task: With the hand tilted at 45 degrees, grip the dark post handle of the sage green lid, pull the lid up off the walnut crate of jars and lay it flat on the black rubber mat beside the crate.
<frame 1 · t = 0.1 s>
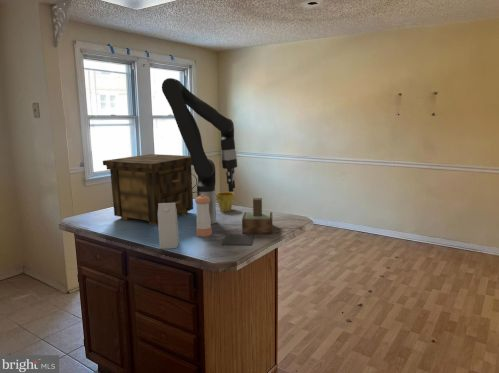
hand: (232, 189, 188), 17 cm above the table, tool pointing down, fingers open, 8 cm apart
milk carton: (169, 246, 159), on the table
lid: (257, 217, 178), point 6 cm above the table, touching crate
crate: (257, 229, 179), on the table
pepper shaker: (204, 234, 173), on the table
mat: (238, 240, 164), on the table
crate 2: (155, 216, 206), on the table
plant pot: (225, 210, 217), on the table
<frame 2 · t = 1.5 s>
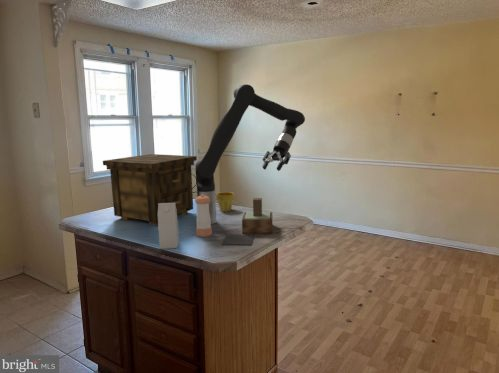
hand: (270, 169, 182), 28 cm above the table, tool tilted 45°, fingers open, 8 cm apart
nothing on the table moved.
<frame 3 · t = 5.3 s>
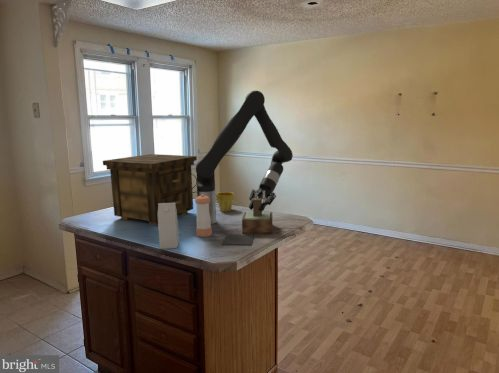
hand: (255, 209, 176), 10 cm above the table, tool tilted 45°, fingers closed on lid, 5 cm apart
lid: (257, 217, 178), point 6 cm above the table, touching crate, gripper
everything else where it was.
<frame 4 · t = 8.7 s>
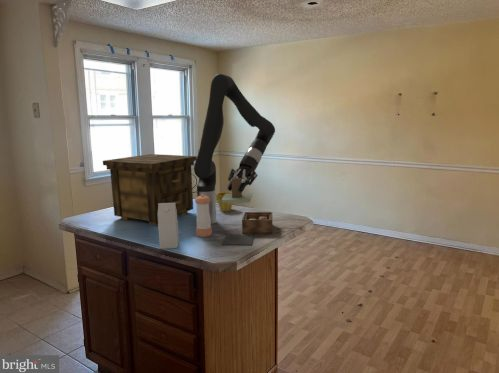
hand: (234, 190, 159), 23 cm above the table, tool tilted 45°, fingers closed on lid, 5 cm apart
lid: (237, 199, 161), point 19 cm above the table, touching gripper
everything else where it was.
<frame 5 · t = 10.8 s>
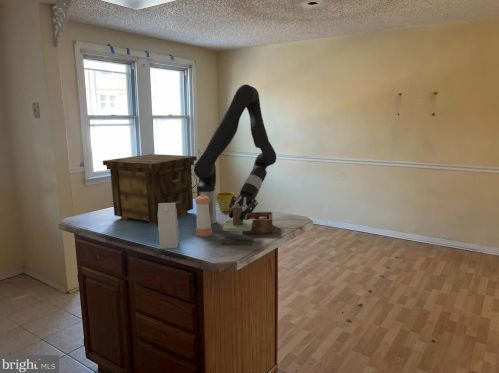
hand: (235, 218, 161), 11 cm above the table, tool tilted 45°, fingers closed on lid, 5 cm apart
lid: (238, 226, 163), point 6 cm above the table, touching gripper
everything else where it was.
when the fingers open (6 cm above the table, at t = 12.3 s): lid drops 2 cm, resting on mat.
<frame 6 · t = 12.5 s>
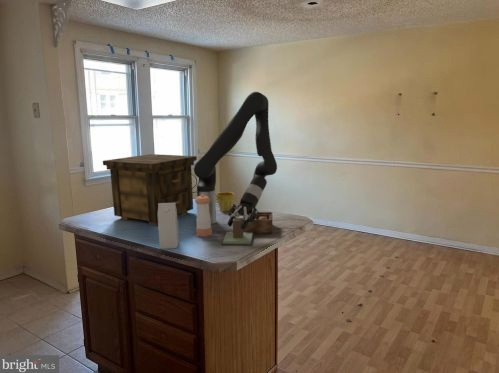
hand: (235, 227, 162), 6 cm above the table, tool tilted 45°, fingers open, 7 cm apart
lid: (238, 239, 164), resting on mat
everything else where it was.
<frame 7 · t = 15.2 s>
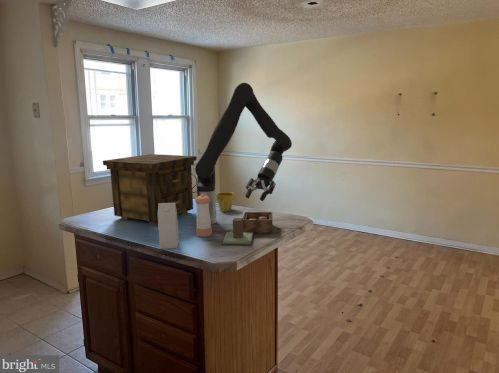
hand: (253, 198, 170), 17 cm above the table, tool tilted 45°, fingers open, 8 cm apart
nothing on the table moved.
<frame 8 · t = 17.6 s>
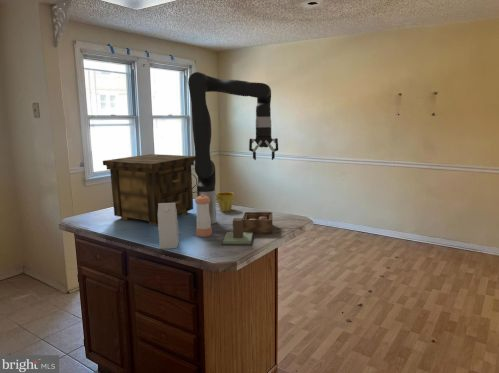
hand: (263, 159, 180), 33 cm above the table, tool pointing down, fingers open, 8 cm apart
nothing on the table moved.
at the end: lid inside the target area on the mat (0.1 cm from its centre), point 0.4 cm above the mat's base; lid tilted 0°; the gripper is holding nothing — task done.
